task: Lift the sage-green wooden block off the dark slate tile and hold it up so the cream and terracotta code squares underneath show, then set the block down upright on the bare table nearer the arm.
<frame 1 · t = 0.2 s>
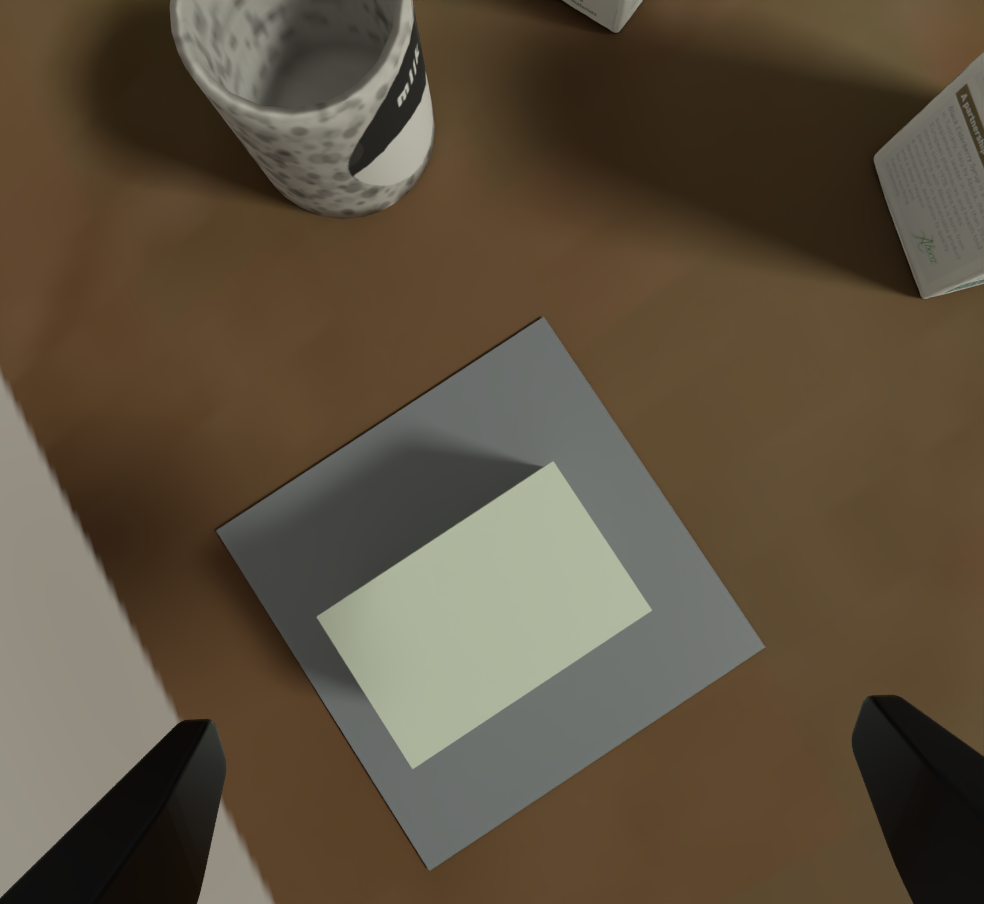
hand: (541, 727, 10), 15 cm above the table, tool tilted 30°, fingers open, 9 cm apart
syrup box: (962, 207, 25), on the table
sage block: (487, 588, 24), resting on code tile
mug: (358, 91, 26), on the table
code tile: (487, 587, 25), on the table
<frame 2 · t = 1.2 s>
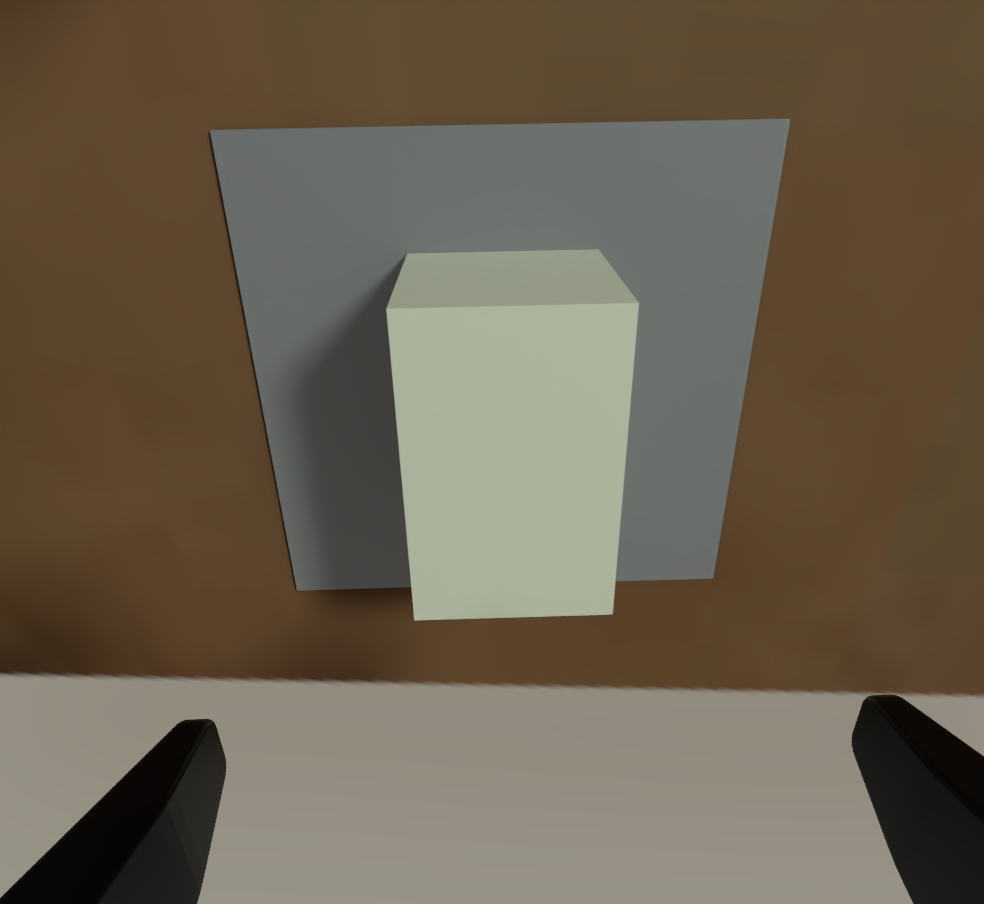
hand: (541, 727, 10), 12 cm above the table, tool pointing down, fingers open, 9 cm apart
sage block: (504, 392, 20), resting on code tile
code tile: (504, 391, 20), on the table
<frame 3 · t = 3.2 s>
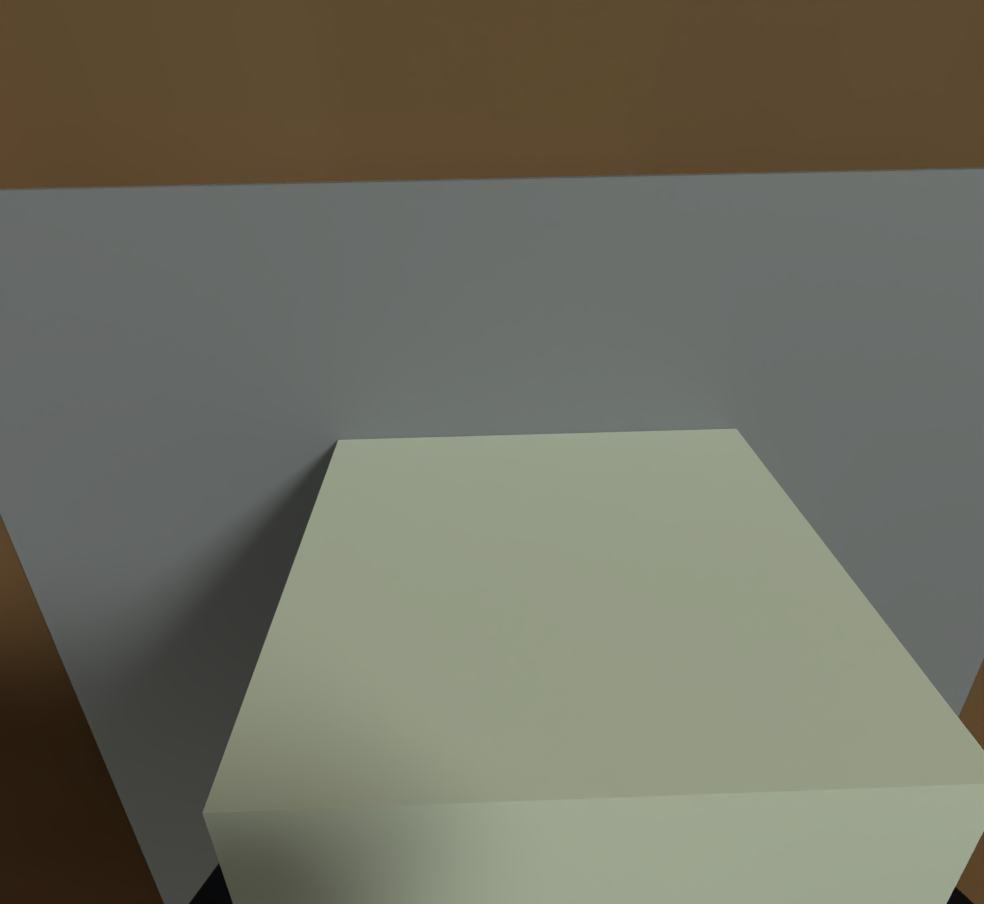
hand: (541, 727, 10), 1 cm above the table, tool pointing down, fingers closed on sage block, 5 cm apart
sage block: (534, 668, 11), resting on code tile, touching gripper
code tile: (533, 662, 11), on the table
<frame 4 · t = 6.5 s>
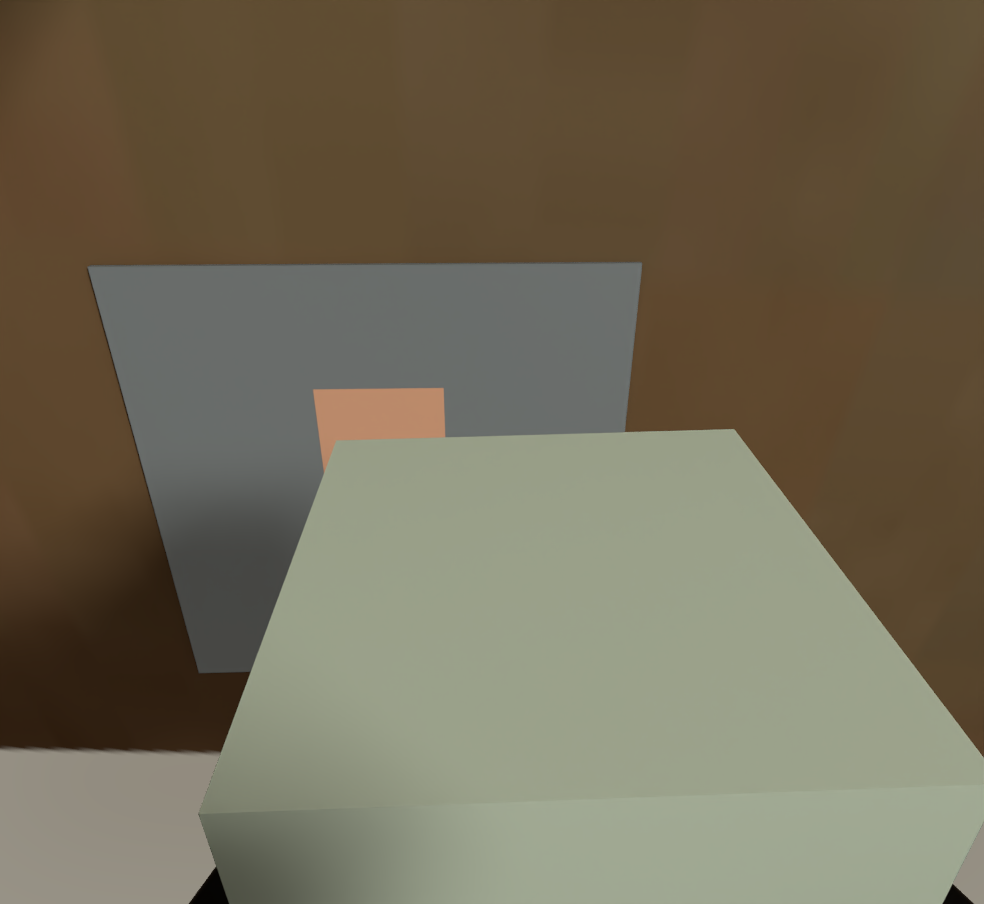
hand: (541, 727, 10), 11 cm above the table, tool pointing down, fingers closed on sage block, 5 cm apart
sage block: (532, 668, 11), point 10 cm above the table, touching gripper
code tile: (387, 496, 21), on the table
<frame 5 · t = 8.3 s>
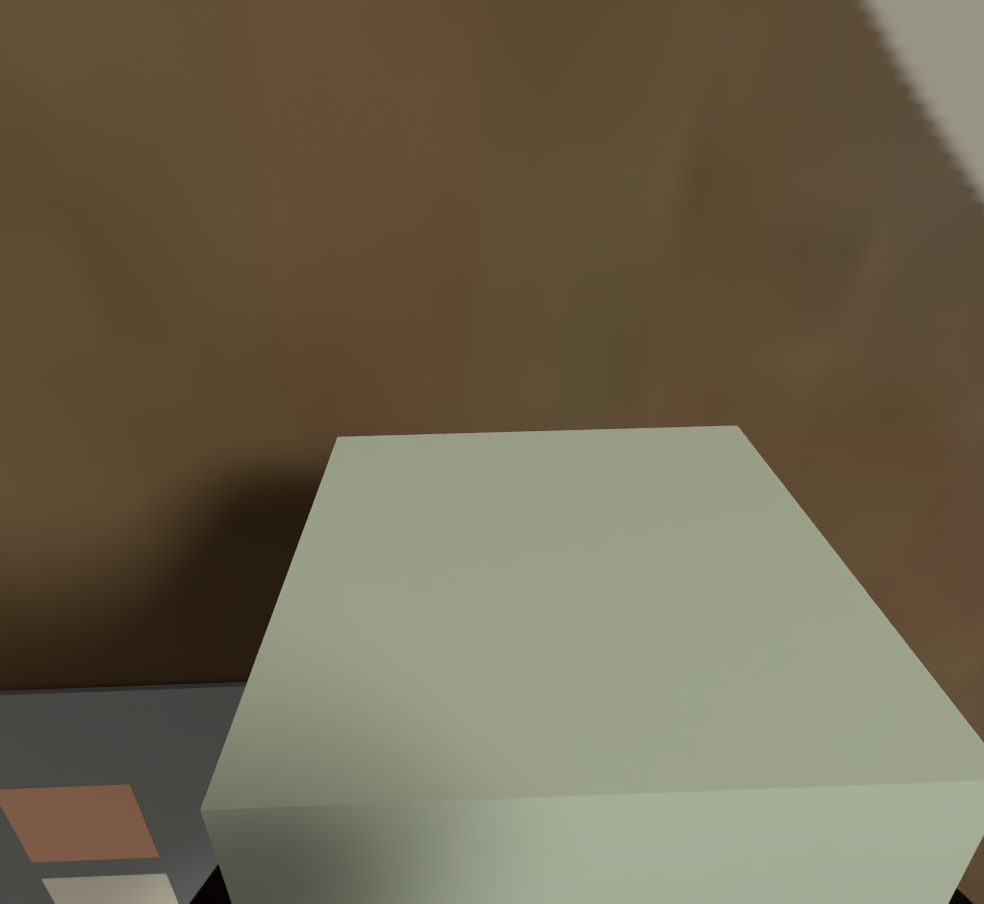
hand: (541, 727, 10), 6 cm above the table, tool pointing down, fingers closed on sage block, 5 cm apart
sage block: (534, 666, 11), point 5 cm above the table, touching gripper
code tile: (101, 864, 20), on the table
when the fingers open (2 cm above the table, at t = 9.8 s): sage block drops 1 cm, on the table.
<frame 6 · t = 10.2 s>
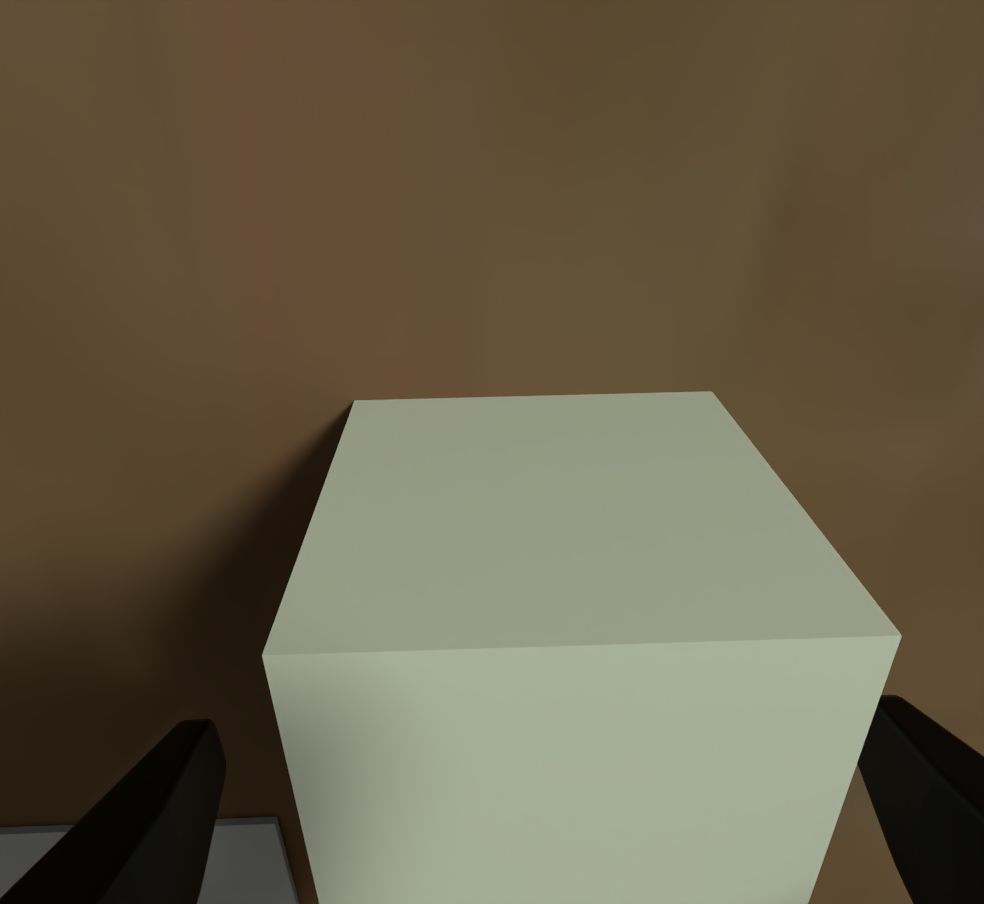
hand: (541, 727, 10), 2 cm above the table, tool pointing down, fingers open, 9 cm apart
sage block: (529, 610, 12), on the table
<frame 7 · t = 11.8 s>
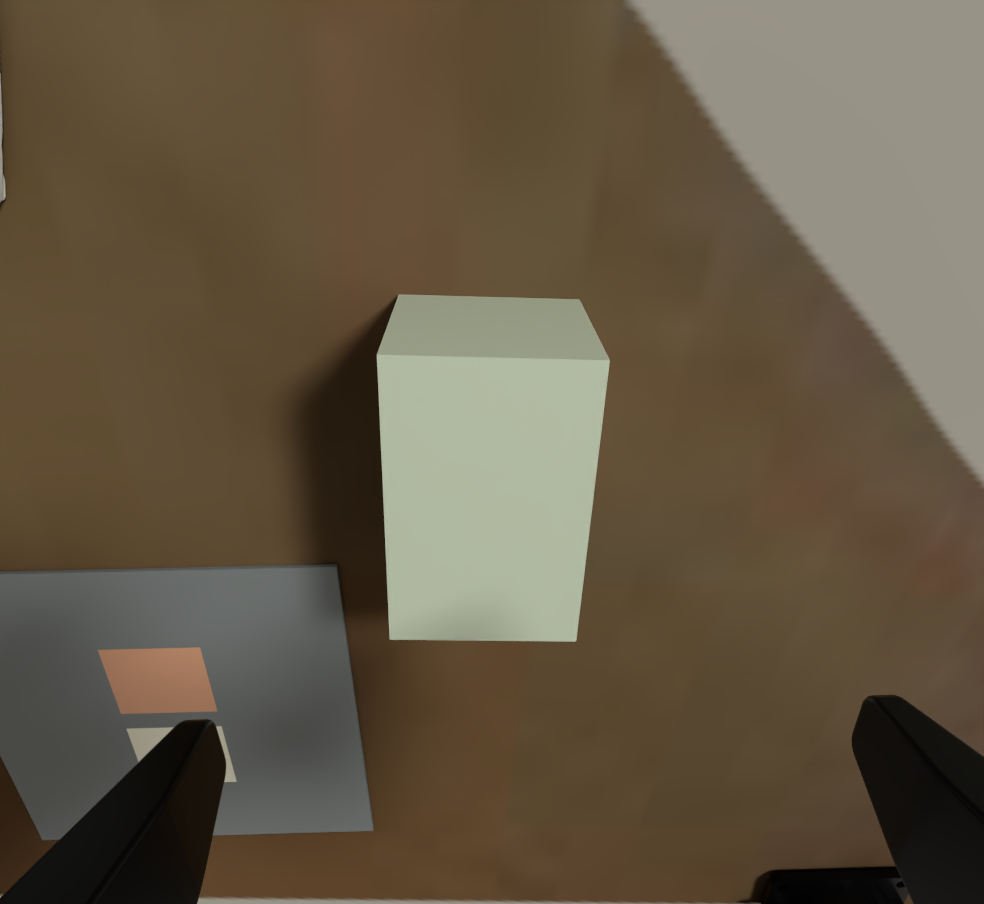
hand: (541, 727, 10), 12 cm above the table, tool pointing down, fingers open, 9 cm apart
sage block: (485, 425, 21), on the table
code tile: (172, 717, 26), on the table
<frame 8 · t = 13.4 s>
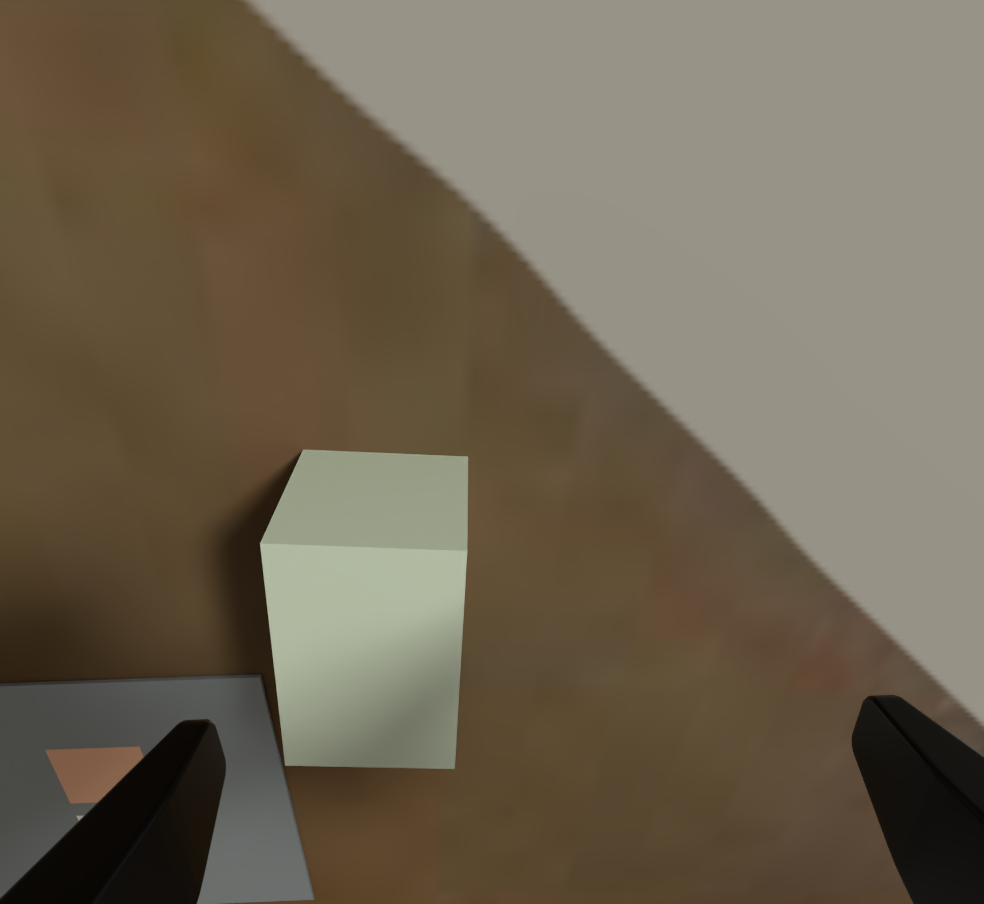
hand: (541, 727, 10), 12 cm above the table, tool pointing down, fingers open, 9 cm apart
sage block: (387, 556, 23), on the table
code tile: (119, 805, 28), on the table
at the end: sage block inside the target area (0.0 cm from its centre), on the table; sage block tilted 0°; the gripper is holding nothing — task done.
